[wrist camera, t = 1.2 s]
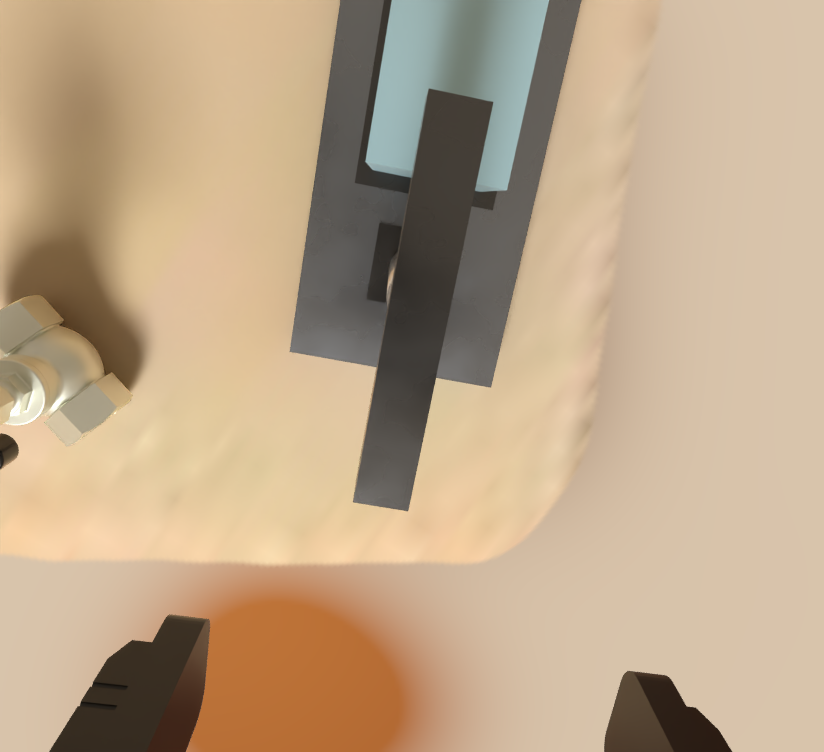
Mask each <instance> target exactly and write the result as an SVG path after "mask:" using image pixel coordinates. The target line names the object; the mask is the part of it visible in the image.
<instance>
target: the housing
mask: <svg viewBox="0 0 824 752" xmlns="http://www.w3.org/2000/svg"><path fill="white" fill-rule="evenodd" d="M391 2H392V0H340V7H339V14H338V21H337V28H336V35H335V42H334V49H333V56H332V63H331V70H330V77H329V84H328V90H327V97H326V104H325V111H324V118H323V125H322V132H321V139H320V146H319V153H318V160H317V167H316V174H315V181H314V188H313V194H312V201H311V208H310V215H309V222H308V229H307V236H306V243H305V250H304V257H303V264H302V271H301V278H300V285H299V292H298V298H297V305H296V312H295V319H294V326H293V333H292V340H291V347H290V352H295V353H300V354H306V355H311V356H317V357H323V358H328V359H334V360H339V361H345V362H351V363H356V364H362V365H368V366H373V367H377V362H378V357H379V351H380V346H381V340H382V335H383V329H384V324H385V319H386V313H387V303H386V297H387V286H388V276H389V266H390V262H391V259H392V258H393V256H394V255H395V254H396V253H397V252H398V247H399V242H400V236H401V231H402V225H403V220H404V214H405V209H406V203H407V198H408V192H409V187H410V181H411V178H410V177H405V176H400V175H395V174H390V173H385V172H380V171H375V170H372V169H371V168H370V166H369V165H368V164H367V163H366V162H365V161H366V155H367V149H368V143H369V137H370V131H371V124H372V118H373V112H374V106H375V100H376V94H377V88H378V82H379V75H380V69H381V63H382V57H383V51H384V45H385V39H386V33H387V26H388V20H389V14H390V8H391ZM580 4H581V0H549V3H548V7H547V12H546V16H545V21H544V25H543V30H542V34H541V39H540V43H539V48H538V52H537V57H536V61H535V66H534V70H533V75H532V79H531V84H530V88H529V93H528V97H527V102H526V106H525V111H524V116H523V120H522V125H521V129H520V134H519V138H518V143H517V147H516V152H515V156H514V161H513V165H512V170H511V174H510V179H509V183H508V188H507V190H503V191H487V192H479V191H475V193H474V198H473V203H472V207H471V212H470V217H469V222H468V226H467V231H466V236H465V241H464V246H463V250H462V255H461V260H460V265H459V270H458V274H457V279H456V284H455V289H454V294H453V298H452V303H451V308H450V313H449V318H448V322H447V327H446V332H445V337H444V341H443V346H442V351H441V356H440V361H439V365H438V370H437V375H436V378H441V379H446V380H452V381H457V382H463V383H469V384H474V385H480V386H485V387H491V385H492V381H493V376H494V372H495V368H496V363H497V359H498V355H499V351H500V346H501V342H502V338H503V333H504V329H505V325H506V321H507V316H508V312H509V308H510V304H511V299H512V295H513V291H514V286H515V282H516V278H517V274H518V269H519V265H520V261H521V256H522V252H523V248H524V244H525V239H526V235H527V231H528V226H529V222H530V218H531V214H532V209H533V205H534V201H535V196H536V192H537V188H538V184H539V179H540V175H541V171H542V166H543V162H544V158H545V154H546V149H547V145H548V141H549V136H550V132H551V128H552V124H553V119H554V115H555V111H556V106H557V102H558V98H559V94H560V89H561V85H562V81H563V76H564V72H565V68H566V64H567V59H568V55H569V51H570V46H571V42H572V38H573V34H574V29H575V25H576V21H577V16H578V12H579V8H580Z"/></svg>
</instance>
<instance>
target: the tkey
mask: <svg viewBox="0 0 824 752" xmlns="http://www.w3.org/2000/svg"><path fill="white" fill-rule="evenodd" d="M492 107H493V102H491V101H487V100H482V99H477V98H472V97H468V96H463V95H458V94H454V93H449V92H444V91H439V90H435V89H430V88H429V89H428V92H427V96H426V99H425V105H424V110H423V116H422V121H421V127H420V132H419V138H418V143H417V149H416V154H415V160H414V165H413V170H412V176H411V181H410V187H409V192H408V198H407V203H406V209H405V214H404V220H403V225H402V231H401V236H400V242H399V247H398V252H397V253H396V254H395V255H394V256H393V258H392V259H391V262H390V266H389V276H388V286H387V297H386V303H387V313H386V319H385V324H384V329H383V335H382V340H381V346H380V351H379V357H378V362H377V368H376V373H375V379H374V384H373V390H372V395H371V401H370V406H369V412H368V417H367V423H366V428H365V434H364V439H363V445H362V450H361V456H360V461H359V467H358V472H357V478H356V485H355V492H354V499H353V502H355V503H361V504H367V505H373V506H379V507H386V508H392V509H398V510H404V511H408V509H409V504H410V500H411V495H412V490H413V485H414V480H415V476H416V471H417V466H418V461H419V456H420V452H421V447H422V442H423V437H424V433H425V428H426V423H427V418H428V413H429V409H430V404H431V399H432V394H433V389H434V385H435V380H436V375H437V370H438V365H439V361H440V356H441V351H442V346H443V341H444V337H445V332H446V327H447V322H448V318H449V313H450V308H451V303H452V298H453V294H454V289H455V284H456V279H457V274H458V270H459V265H460V260H461V255H462V250H463V246H464V241H465V236H466V231H467V226H468V222H469V217H470V212H471V207H472V203H473V198H474V193H475V188H476V183H477V179H478V174H479V169H480V164H481V159H482V155H483V150H484V145H485V140H486V135H487V131H488V126H489V121H490V116H491V112H492Z"/></svg>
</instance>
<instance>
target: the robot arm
mask: <svg viewBox="0 0 824 752" xmlns="http://www.w3.org/2000/svg"><path fill="white" fill-rule="evenodd" d="M209 632H210V621H209V619H203V618H195V617H186V616H177V615H168V616H167V617H166V619H165V620H164V622H163V624H162V626H161V628H160V629H159V631H158V633H157V635H156V637H155V638H154V640H153V642H143V641H134V640H132V641H131V642H129V643H128V644H126V645H125V646H124V647H123V648H121V649H120V650H119V651H117V652H116V653H115V654H113V655H112V656H111V657H109V658H108V659H107V661H106V662H105V664H104V666H103V667H102V669H101V671H100V672H99V674H98V675H97V677H96V678H95V680H94V682H93V685H92V687H90V688H89V690H88V691H87V693H86V694H85V696H84V697H83V699H82V701H81V704H80V706H79V707H77V708H76V710H75V712H74V713H73V715H72V716H71V718H70V720H69V721H68V723H67V725H66V726H65V728H64V729H63V731H62V732H61V734H60V735H59V737H58V739H57V740H56V742H55V743H54V745H53V747H52V748H51V750H50V752H186V749H187V747H188V744H189V741H190V739H191V736H192V734H193V731H194V728H195V726H196V723H197V720H198V717H199V713H200V709H201V705H202V700H203V695H204V689H205V677H206V667H207V655H208V644H209ZM604 745H605V746H604V752H732V751H731V749H730V748H729V746H728V744H727V743H726V741H725V739H724V738H723V736H722V735H721V733H720V731H719V730H718V729H717V728H716V727H715V726H714V725H713V724H712V723H711V722H710V721H709V720H708V719H707V718H706V717H705V716H704V715H703V714H702V713H700V711H698V710H697V709H696V708H694V707H687V706H686V705H685V703H684V702H683V699H682V698H681V696H680V694H679V692H678V691H677V689H676V687H675V686H674V684H673V682H672V681H671V679H670V678H669V677H668V676H665V675H658V674H650V673H641V672H633V671H627V672H626V673H625V674H624V675H623V677H622V680H621V683H620V687H619V690H618V693H617V697H616V700H615V704H614V707H613V711H612V714H611V717H610V721H609V724H608V728H607V731H606V735H605V744H604Z"/></svg>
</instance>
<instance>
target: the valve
mask: <svg viewBox="0 0 824 752" xmlns="http://www.w3.org/2000/svg"><path fill="white" fill-rule="evenodd" d="M63 321H64V319H63V318H62V317H61V316H60V315H59V314H58V313H57V312H56V311H55V310H54V308H53V307H52V306H51V305H50V304H49V303H48V302H47V301H46V300H45V299H44V297H43V296H42V295H31V296H27V297H24V298H21V299H19V300H17V301H15V302H13V303H11V304H9V305H8V306H6V307H4V308H3V309H1V310H0V425H1V424H3V423H4V424H8V425H24V424H28V423H30V422H32V421H34V420H36V419H37V418H39V417H40V416H42V415H44V416H48V417H49V419H48V420H47V421H45V422H44V423H45V424H46V425H47V426H48V427H49V429H50V430H51V431H52V432H53V433H54V434H55V435H56V436H57V437H58V438H59V439H60V440H61V441H62V442H63V443H64V444H65V445H66V446H70V445H74V444H75V443H77V442H78V441H79V440H81V439H82V438H83V437H84V436H86V435H87V434H88V433H90V432H91V431H92V430H94V429H95V428H96V427H97V426H99V425H100V424H101V423H103V422H104V421H105V420H106V419H108V418H109V417H110V416H112V415H113V414H114V413H115V412H117V411H118V410H119V409H121V408H122V407H123V406H124V405H126V404H127V403H128V402H130V401H131V398H132V396H133V395H132V394H131V393H130V392H129V390H128V389H127V388H126V387H125V386H124V385H123V384H122V383H121V382H120V381H119V379H118V378H117V377H116V376H115V375H114V374H113V373H112V372H111V373H110V374H108V375H106V376H105V374H104V367H103V363H102V360H101V358H100V355H99V354H98V352H97V350H96V349H95V347H94V346H93V345H92V344H91V343H90V342H89V341H88V340H87V339H86V338H85V337H83V336H82V335H80V334H79V333H77V332H75V331H73V330H71V329H68V328H66V327H62V326H59V325H60V324H61V323H62V322H63ZM18 452H19V449H18V445H17V443H16V442H15V440H14V439H13V438H11V437H10V436H8V435H6V434H2V433H1V434H0V469H2V468H3V467H5V466H6V465H8V464H9V463H11V462H12V461H14V460H15V459H16V457H17V456H18Z"/></svg>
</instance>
